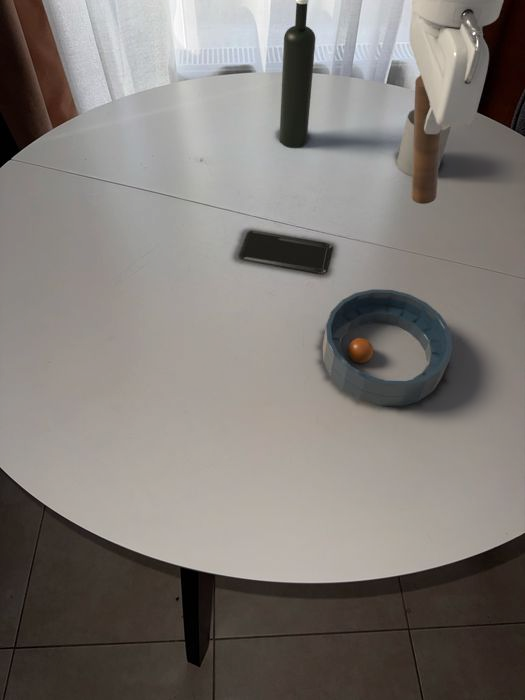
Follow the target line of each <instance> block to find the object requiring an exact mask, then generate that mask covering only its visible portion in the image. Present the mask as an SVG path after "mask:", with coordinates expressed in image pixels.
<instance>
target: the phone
mask: <svg viewBox="0 0 525 700" xmlns="http://www.w3.org/2000/svg"><path fill="white" fill-rule="evenodd" d="M332 249H333V247H332V245H331V244H330V243H328V242H325V241H318V240H312V239H307V238H302V237H301V238H300V237H295V236H290V235H284V234H279V233H278V234H277V233H273V232H266V231H261V230H255V229H254V230H253V229H251V230H248V231H246V234H245V236H244V239H243V241H242V244H241V247H240V249H239V252H238V254H237V255H238V256H237V257H238V259H239V260H240V261H243V262H247V263H252V264H259V265H264V266H271V267H275V268H282V269H287V270H293V271H297V272H303V273H308V274H315V275H323V274H325V273H326V272H327V270H328V265H329V262H330V259H331V258H330V257H331V254H332Z"/></svg>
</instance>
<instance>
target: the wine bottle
mask: <svg viewBox="0 0 525 700" xmlns="http://www.w3.org/2000/svg"><path fill="white" fill-rule="evenodd" d="M295 3H296V4H295V18H294V19H295V21H294V25H293V26H291V27H289V28H287V30H286V31H285V33H284V36H283V53H282V71H281V73H282V74H281V94H280V96H281V97H280V117H279V118H280V119H279V120H280V121H279V142H280V144H281V145H283V146H284V147H287V148H294V149H295V148H301V147H303V146H304V145H306V143H307V141H308V133H309V132H308V131H309V121H310V120H309V119H310V111H311V110H310V108H311V98H312V97H311V96H312V95H311V94H312V87H313V86H312V84H313V75H314V74H313V73H314V64H315V63H314V61H315V50H316V35H315V34H316V33H315V32H314V31H313V29H312V28H310V27H309V26H307V16H308V3H309V0H295Z"/></svg>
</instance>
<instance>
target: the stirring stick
mask: <svg viewBox="0 0 525 700" xmlns="http://www.w3.org/2000/svg"><path fill="white" fill-rule="evenodd" d="M429 109H430V101H429V98H428V95H427V92H426V90H425V87H424V84H423V81H422V78H421V76H418V77H416V79H415V83H414V108H413V110H414V139H413V170H412V176H411V179H412V180H411V200H412V201H413V202H414V203H416V204H421V205H426V204H430V203H432V202H434V201H435V200H436V198H437V191H438V182H439V181H438V180H439V169H438V167H439V168H440V166H439V154H440V140H441V130H440V132H439V133H438V134H426V133H425V131H424V127H423V122H424V117H425V113H428V112H429Z"/></svg>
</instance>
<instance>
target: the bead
mask: <svg viewBox="0 0 525 700" xmlns="http://www.w3.org/2000/svg"><path fill="white" fill-rule="evenodd" d="M347 354H348V357H349V358H350V359H351V361H353V362H355V363H357V364H364V363H366V362H368V361H370V359H372V357H373V354H374V347H373V344H372V343H371V342H370V341H369V340H368V339H367V338H364V337H357V338H355V339H353V340H352V341H351V342H350V343H349V345H348V347H347Z"/></svg>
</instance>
